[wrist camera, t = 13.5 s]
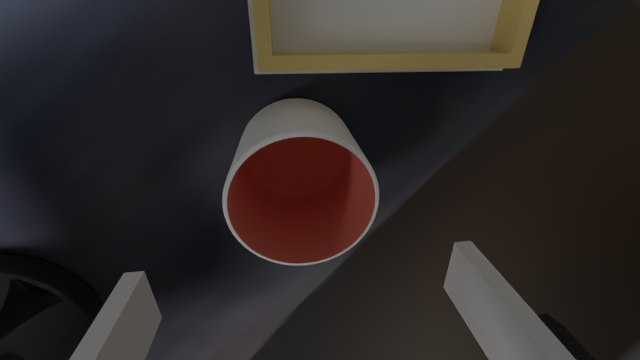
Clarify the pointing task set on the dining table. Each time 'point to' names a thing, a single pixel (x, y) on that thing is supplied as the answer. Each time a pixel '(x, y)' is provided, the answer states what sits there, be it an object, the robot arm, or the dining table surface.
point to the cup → (299, 185)
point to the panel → (388, 35)
